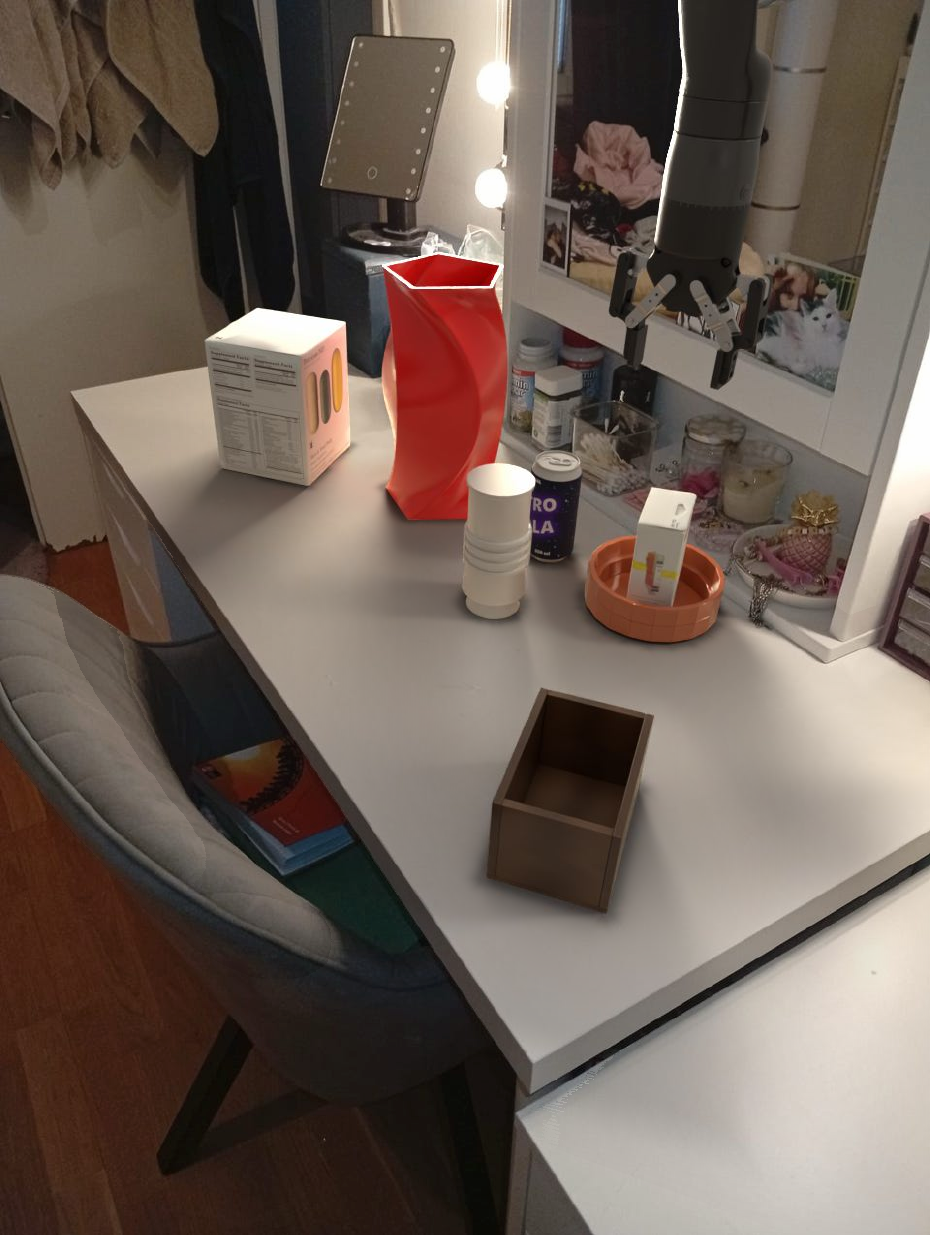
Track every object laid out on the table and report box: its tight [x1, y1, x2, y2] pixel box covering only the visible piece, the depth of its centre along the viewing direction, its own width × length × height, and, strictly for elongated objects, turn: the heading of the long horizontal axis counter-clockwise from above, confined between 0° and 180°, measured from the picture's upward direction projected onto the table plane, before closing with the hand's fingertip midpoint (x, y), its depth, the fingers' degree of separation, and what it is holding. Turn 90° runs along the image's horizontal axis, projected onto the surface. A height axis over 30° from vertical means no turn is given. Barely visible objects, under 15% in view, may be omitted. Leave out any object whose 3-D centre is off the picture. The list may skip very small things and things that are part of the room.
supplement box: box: [204, 307, 351, 487], centre depth 121 cm, size 13×13×18 cm
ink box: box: [627, 486, 698, 607], centre depth 97 cm, size 9×5×12 cm, turn 162°
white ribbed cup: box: [461, 462, 535, 620], centre depth 96 cm, size 7×7×15 cm
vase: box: [381, 252, 509, 521], centre depth 111 cm, size 15×14×28 cm
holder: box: [486, 687, 655, 914], centre depth 73 cm, size 9×13×8 cm
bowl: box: [583, 534, 726, 643], centre depth 100 cm, size 14×14×4 cm
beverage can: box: [529, 449, 584, 563], centre depth 105 cm, size 6×6×12 cm
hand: (674, 375), depth 88 cm, fingers open, 8 cm apart
